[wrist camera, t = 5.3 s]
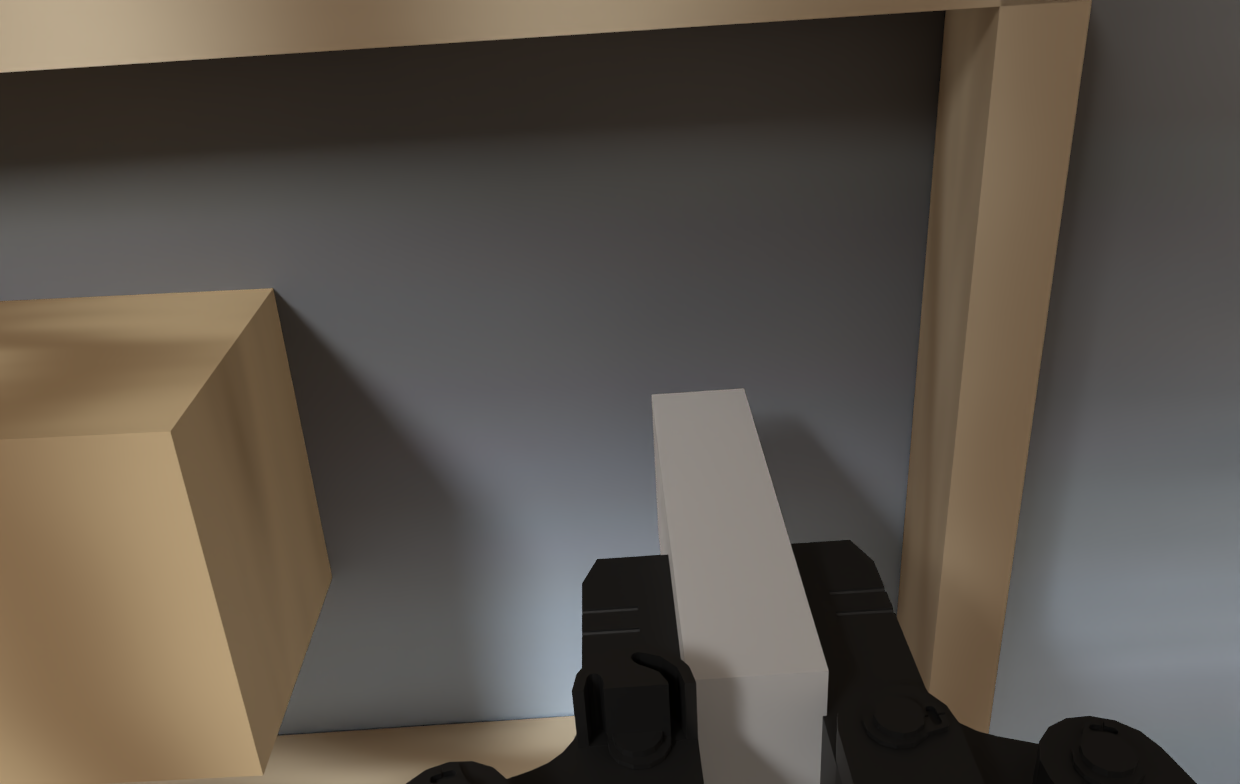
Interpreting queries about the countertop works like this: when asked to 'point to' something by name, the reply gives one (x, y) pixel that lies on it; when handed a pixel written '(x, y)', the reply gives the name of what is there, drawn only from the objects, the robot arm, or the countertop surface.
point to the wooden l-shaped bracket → (951, 306)
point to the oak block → (151, 537)
